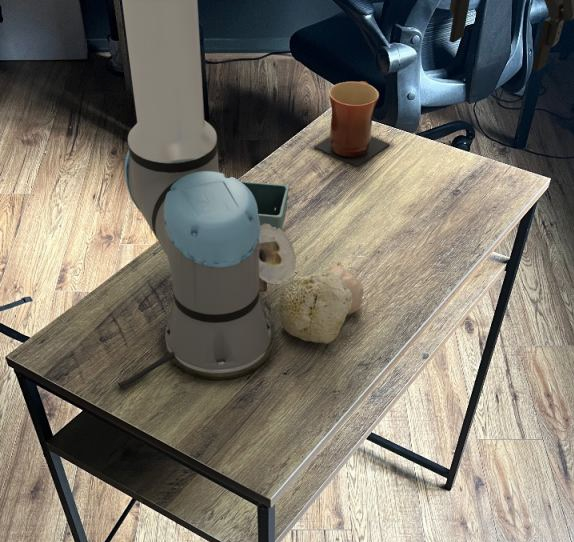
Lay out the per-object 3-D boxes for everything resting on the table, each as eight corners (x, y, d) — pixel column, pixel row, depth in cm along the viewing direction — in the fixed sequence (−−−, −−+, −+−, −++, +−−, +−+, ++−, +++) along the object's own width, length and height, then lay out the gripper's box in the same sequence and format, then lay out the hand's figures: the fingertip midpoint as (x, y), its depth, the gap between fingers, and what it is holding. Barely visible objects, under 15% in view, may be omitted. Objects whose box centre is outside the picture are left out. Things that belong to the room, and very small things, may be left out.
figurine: (312, 233, 121) (234, 243, 130) (275, 195, 113) (194, 208, 122) (296, 301, 119) (217, 306, 128) (257, 266, 111) (176, 275, 120)
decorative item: (286, 360, 122) (254, 299, 118) (326, 332, 125) (296, 272, 122) (334, 351, 112) (300, 284, 108) (376, 320, 115) (345, 255, 112)
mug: (365, 166, 148) (371, 109, 140) (319, 156, 149) (322, 100, 141) (383, 134, 155) (389, 78, 147) (338, 125, 156) (342, 69, 148)
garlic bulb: (317, 319, 124) (341, 289, 128) (355, 325, 121) (378, 294, 125) (309, 281, 119) (334, 251, 123) (349, 286, 116) (373, 255, 120)
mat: (357, 167, 148) (357, 165, 148) (314, 148, 152) (314, 146, 152) (389, 145, 153) (389, 143, 153) (346, 127, 157) (346, 125, 156)
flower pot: (225, 261, 130) (223, 211, 123) (235, 229, 136) (233, 179, 128) (280, 267, 130) (281, 217, 123) (288, 235, 135) (289, 184, 128)
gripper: (643, -113, 98) (587, 71, 115) (464, -157, 107) (437, 19, 124) (615, -97, 94) (562, 90, 111) (433, -144, 104) (409, 35, 120)
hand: (496, 53), depth 118 cm, fingers open, 13 cm apart
